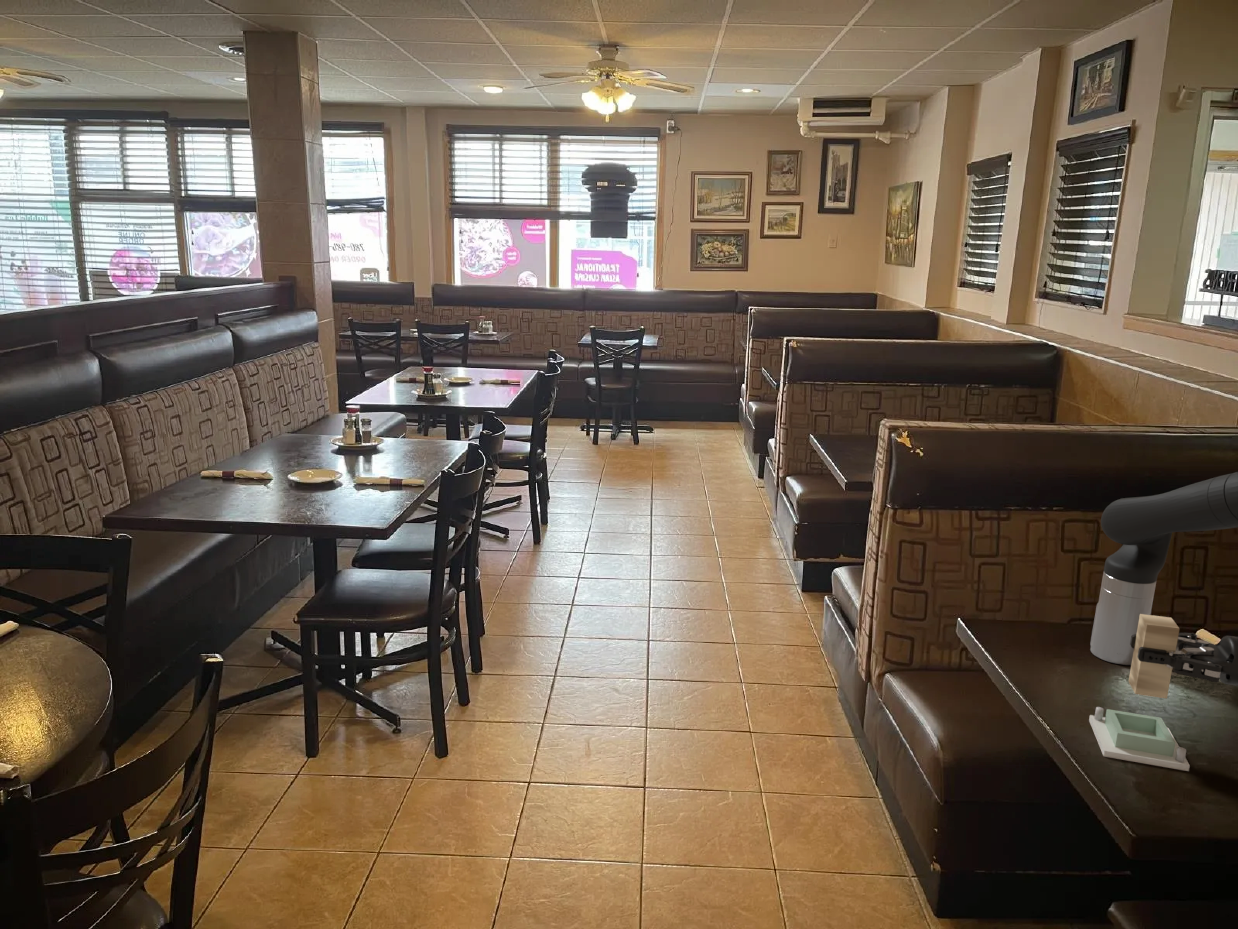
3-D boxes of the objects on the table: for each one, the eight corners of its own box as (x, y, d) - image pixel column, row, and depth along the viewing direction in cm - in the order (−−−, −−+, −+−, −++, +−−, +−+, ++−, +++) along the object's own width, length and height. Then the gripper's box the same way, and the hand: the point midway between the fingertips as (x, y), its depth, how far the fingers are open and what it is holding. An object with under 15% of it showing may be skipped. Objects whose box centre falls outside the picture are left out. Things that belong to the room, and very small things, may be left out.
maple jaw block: (1128, 681, 145) (1139, 613, 142) (1159, 686, 144) (1171, 617, 141) (1135, 694, 141) (1147, 624, 138) (1166, 698, 140) (1179, 628, 137)
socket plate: (1088, 720, 152) (1092, 701, 151) (1167, 733, 149) (1171, 714, 148) (1103, 756, 141) (1107, 736, 140) (1188, 771, 137) (1192, 751, 137)
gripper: (1245, 624, 142) (1127, 609, 147) (1281, 661, 129) (1150, 643, 134) (1237, 666, 144) (1120, 650, 149) (1271, 707, 131) (1142, 688, 136)
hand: (1135, 647), depth 142 cm, fingers closed on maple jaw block, 4 cm apart
